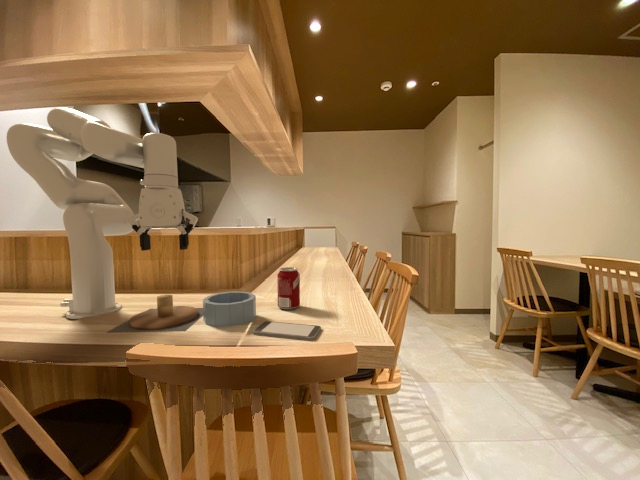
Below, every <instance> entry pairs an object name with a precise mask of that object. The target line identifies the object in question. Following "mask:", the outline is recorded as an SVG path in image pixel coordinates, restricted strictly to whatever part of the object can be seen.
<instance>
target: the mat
mask: <svg viewBox="0 0 640 480" xmlns="http://www.w3.org/2000/svg"><path fill="white" fill-rule="evenodd" d="M196 308H197V309H198V317H197V318H195V319H194V320H192V321H190V322H188V323H185V324H182V325H179V326H175V327H170V328H164V329H156V330H139V329H134V328H131V327H130V326H129V319H128V320H126V321H125V322H123V323H120V324H119V325H117V326H115V327H113V328H111V329H110V330H108V331H106V332H105V333H107V334H108V333H109V334H110V333H152V332H154V333H157V332H160V333H161V332H187V330H188V329H190V328H191V327H192V326H193V325H194V324H195V323H196V322H198V321H199V320H200V319H201V318H203V307H196ZM152 309H153V308H149V309H147V310H146V311H148V310H152Z"/></svg>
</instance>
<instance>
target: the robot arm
mask: <svg viewBox="0 0 640 480" xmlns="http://www.w3.org/2000/svg"><path fill="white" fill-rule="evenodd" d="M46 121H47V124H48V126H49V127H46V126H43V125H39V124H36V123H35V124H33V123H27V122H26V123H21V122H20V123H17V124H13V125H11V126H10V127H9V128H8V130H7V132H6V144H7V148H8V151H9V153H10V156H11V157H12V158H13V160H14V161H15V163H16V164H17V165H18V166H19V167H20V168H21V169H22V170H23V171H24V172H25V173H27V174H28V175H29V177H31V178H32V180H34V181H35V182H36V184H37V185H38V186H39V187H40V189H41V190H42V191H43V192H44V193H45V195H46V196H47V197H48V198H49V199H50V201H51V203H53V204H54V205H55V206H56V207H58V208H59V209H62V210H64V212H63V215H62V221H63V226H64V229H65V232H66V235H67V241H68V245H69V246H68V247H69V255H70V256H69V257H70V271H71V272H70V274H71V276H70V277H71V291H72V292H71V293H72V298H64V299H63V301H61V303H60V307H63V308H67V307H68V311H66V313H65V318H67V319H71V320H80V319H85V318H93V317H99V316H104V315H107V314H111V313H114V312H117V311H119V310H121V309H122V308H123V304H122V303H120V302H116V291H115V290H116V289H115V286H116V285H115V267H114V251H113V248H112V246H111V244H110V242H109V241H108V240H107V239H106V237H107V236H108V237H111V236H116V237H117V236H125V235H128V234H130V233H132V232H133V231H135V232H136V235H137V236H139V246H140V250H141V251H143V252H144V251H150V250H151V249H152V247H151V246H152V245H151V236H150V234H149V232H150V231H151V230H152V228H176V229H177V230H178V231H179V232H180V234H179V235H178V238H179V239H178V242H179V243H178V244H179V250H181V251H183V250H187V249H188V248H189V244H190V243H189V241H190V239H189V235H190V234H191V232H192V231H193V230H194V229H195V227H196V224H197V222H198V221H199V218H198V217H197V216H196V215H194V214H191V213H190V212H187V211H186V209H185V202H184V197H183V193H182V190H181V189H180V188H179V177H178V175H179V174H178V160H177V159H178V156H177V142H176V140H175V138H174V137H173V136H171V135H170V134H169V135H168V134H165V133H161V132H150V133H146V134H144V136H143V137H142V138H141V137H138V136H135V135H133V134H129V133H125V132H123V131H119V130H116V129H115V128H111V126H110V125H109V124H108V123H107V122H105V121H104V120H103V119H100V118H98V117H96V116H92V115H90V114H87V113H84V112H81V111H79V110H76V109H73V108H68V107H56V108H52V109H51V110H50V111H49V112H48V113H47V117H46ZM93 155H95V156H97V157H99V158H101V159H105V160H107V161H110V162H114V163H119V164H123V165H128V166H133V167H137V168H142V169H143V173H144V174H143V175H144V176H143V179H140V180H139V184H140V185H141V186H144V188H143V187H142V188H141V190H140V194H139V195H140V196H139V202H138V212H137V213H136V214H135V213H134V212H133V210H132V208H131V207H130V206H129V205H128V204H127V203H126V201H125V200H124V199H123V198H122V197H121V195H119V193H118V192H117V191H116V190H115V189H114V188H112V186H110V185H108V184H106V183H104V182H99V181H92V180H87V179H81V178H78V177H77V176H76V175H75V174H74V173H73V172H72V171H71V170H70V169H69V167H67V166H66V165H65V164H64V163H62V162H60V161H59V160H63V161H68V162H80V161H81V162H82V161H83V160H84V161H85V160H86V159H87V158H89V157H90V156H93ZM186 219H188V220H189V223H188V224H187V223H186V221H187V220H186ZM186 224H187V225H186Z"/></svg>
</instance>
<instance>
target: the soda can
mask: <svg viewBox="0 0 640 480" xmlns="http://www.w3.org/2000/svg"><path fill="white" fill-rule="evenodd" d="M278 269H279V271H278V272H277V273H278V274H277V276H276V277H277V307H278V308H280V309H281V310H284V311H291V310H296V309H297V308H299V307H300V306H301V303H300V302H301V291H300V290H301V289H300V288H301V287H300V286H301V285H300V283H301V281H300V279H301V278H300V277H301V276H300V272H299V270H298V268H297V267H291V266H290V267H280V268H278Z"/></svg>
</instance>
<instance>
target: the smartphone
mask: <svg viewBox="0 0 640 480" xmlns="http://www.w3.org/2000/svg"><path fill="white" fill-rule="evenodd" d="M321 331H322V326H321V325H316V324H315V325H314V324H306V323H295V322H283V321H275V320H274V321H272V320H266V321H263V322H262V323H261V324H259V325H258V326H257V327H255V328H254V329H253V330H252V334H253V335H254V336H264V337H272V338H282V339H292V340H301V341H310V342H311V341H312V342H313V341H315V340H316V339H317V337H318V335H319V334H320V332H321Z"/></svg>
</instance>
